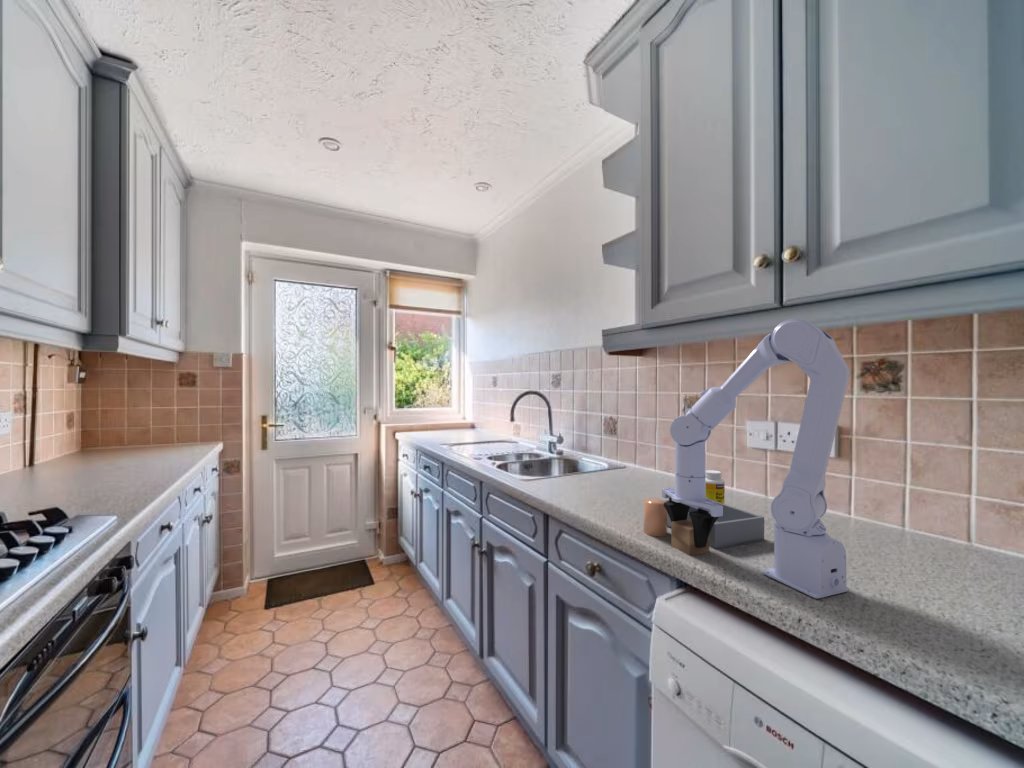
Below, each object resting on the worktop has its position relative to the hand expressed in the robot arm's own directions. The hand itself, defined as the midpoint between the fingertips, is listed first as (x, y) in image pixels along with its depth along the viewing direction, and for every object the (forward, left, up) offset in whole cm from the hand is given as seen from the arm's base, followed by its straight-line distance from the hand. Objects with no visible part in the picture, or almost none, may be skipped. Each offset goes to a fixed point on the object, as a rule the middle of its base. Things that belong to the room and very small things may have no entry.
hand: (690, 541), depth 83 cm
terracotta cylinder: (+10, 0, -1) cm, 10 cm away
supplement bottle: (+19, -26, -2) cm, 32 cm away
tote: (+7, -12, -1) cm, 14 cm away
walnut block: (0, 0, -1) cm, 1 cm away
